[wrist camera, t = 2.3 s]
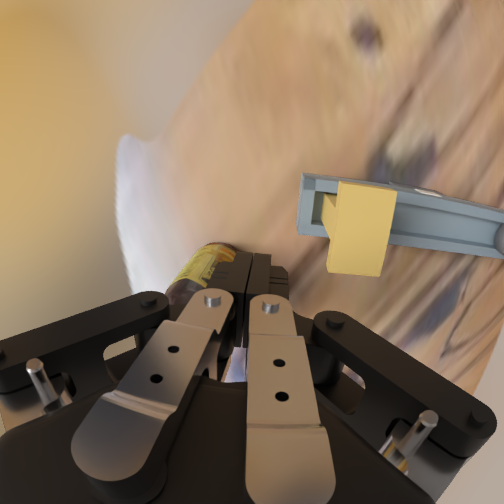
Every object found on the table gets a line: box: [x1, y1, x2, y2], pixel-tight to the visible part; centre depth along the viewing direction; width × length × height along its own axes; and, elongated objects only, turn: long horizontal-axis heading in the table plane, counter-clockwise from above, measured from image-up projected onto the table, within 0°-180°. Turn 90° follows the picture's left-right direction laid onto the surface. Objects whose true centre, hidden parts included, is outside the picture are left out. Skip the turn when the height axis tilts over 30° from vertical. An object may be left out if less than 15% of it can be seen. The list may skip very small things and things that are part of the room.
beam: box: [296, 173, 504, 259], centre depth 26 cm, size 26×5×10 cm, turn 86°
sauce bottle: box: [165, 243, 237, 305], centre depth 26 cm, size 7×6×20 cm
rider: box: [321, 181, 397, 277], centre depth 23 cm, size 4×6×7 cm, turn 176°
